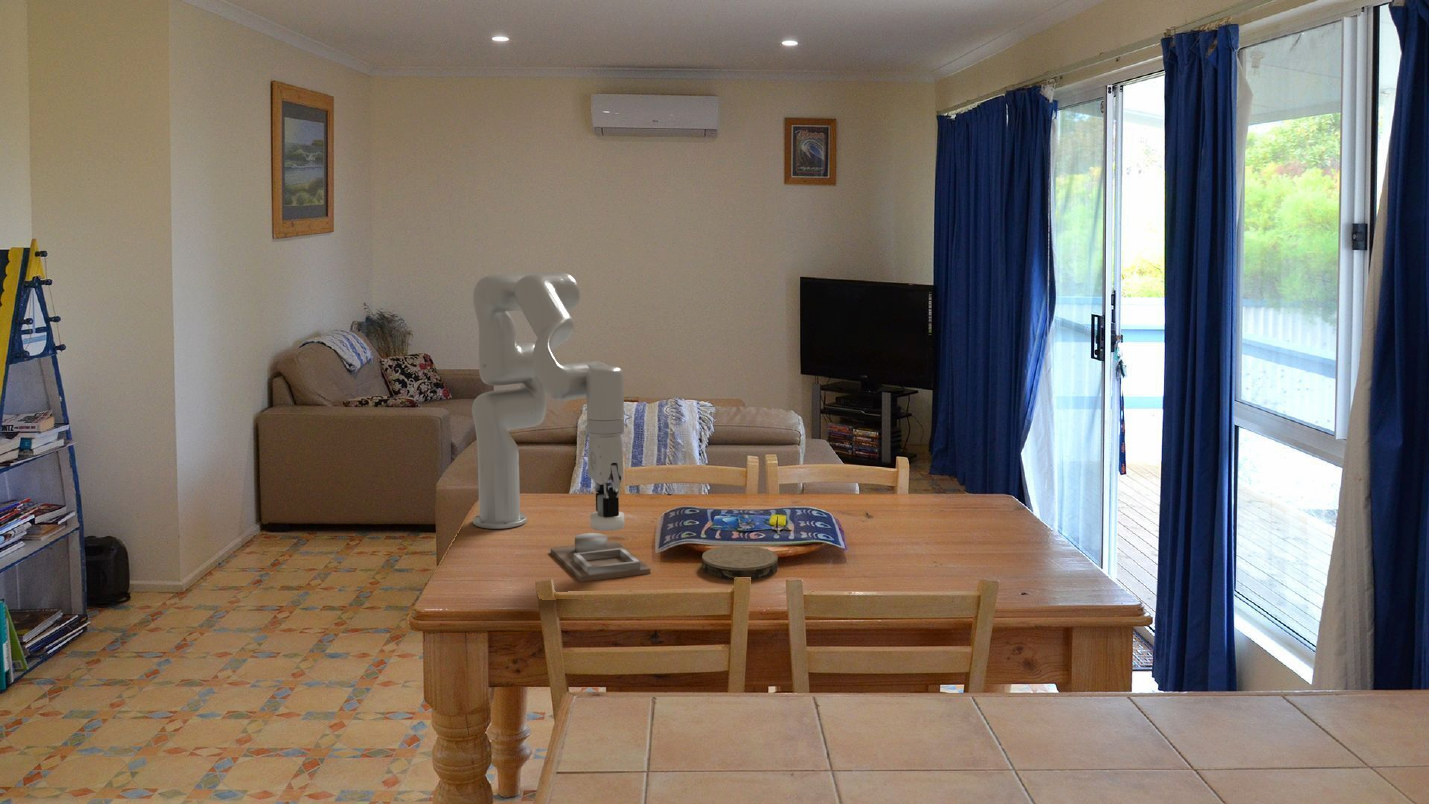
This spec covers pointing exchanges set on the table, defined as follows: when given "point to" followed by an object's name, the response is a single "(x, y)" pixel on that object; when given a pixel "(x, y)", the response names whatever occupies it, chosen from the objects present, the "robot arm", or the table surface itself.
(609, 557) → the carrier board
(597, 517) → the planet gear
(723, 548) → the grey brown round disc
